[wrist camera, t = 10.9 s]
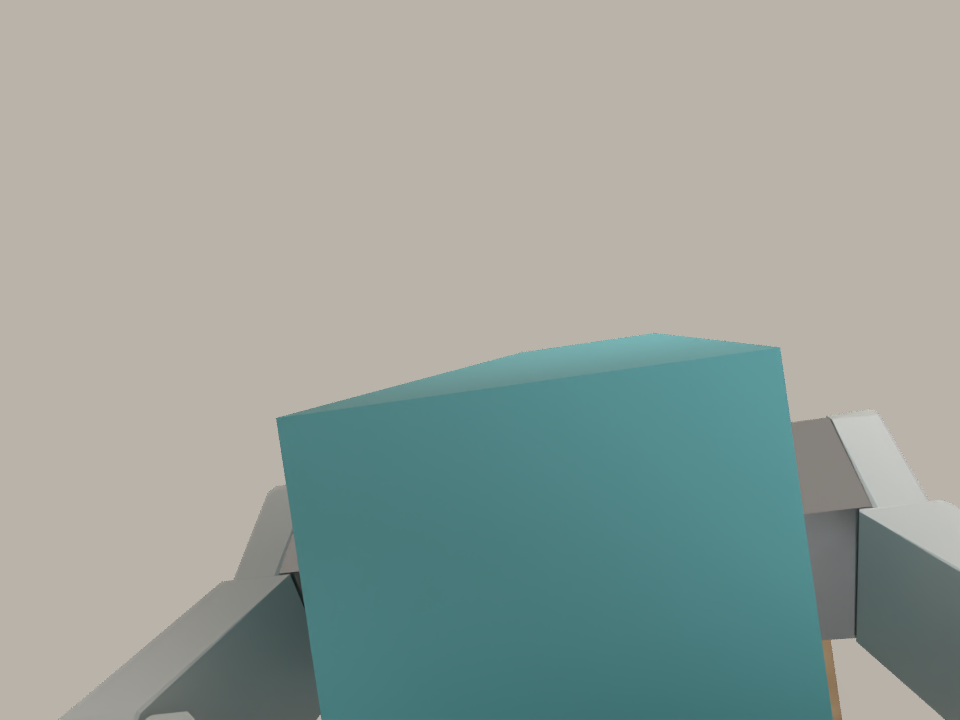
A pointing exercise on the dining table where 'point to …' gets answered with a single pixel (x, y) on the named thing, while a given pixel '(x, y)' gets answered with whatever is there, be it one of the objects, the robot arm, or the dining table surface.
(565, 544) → the box
